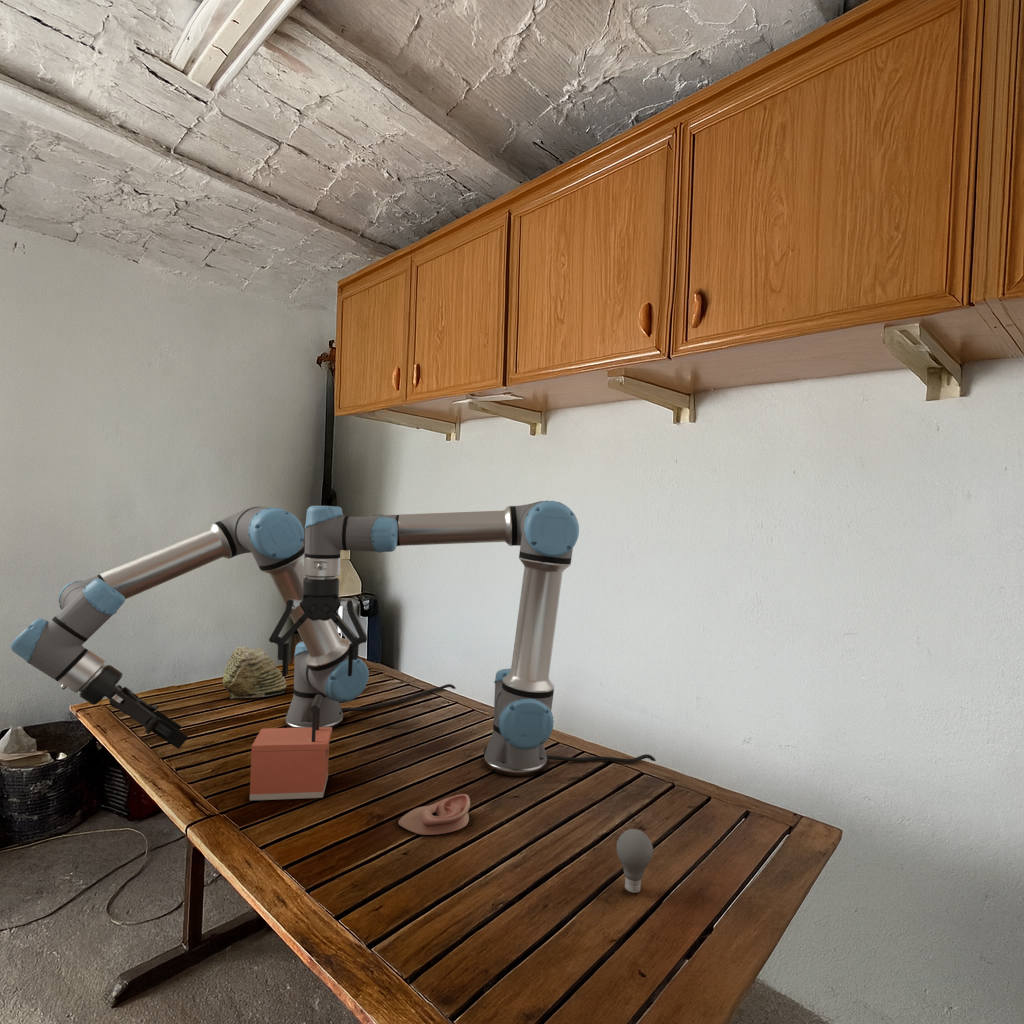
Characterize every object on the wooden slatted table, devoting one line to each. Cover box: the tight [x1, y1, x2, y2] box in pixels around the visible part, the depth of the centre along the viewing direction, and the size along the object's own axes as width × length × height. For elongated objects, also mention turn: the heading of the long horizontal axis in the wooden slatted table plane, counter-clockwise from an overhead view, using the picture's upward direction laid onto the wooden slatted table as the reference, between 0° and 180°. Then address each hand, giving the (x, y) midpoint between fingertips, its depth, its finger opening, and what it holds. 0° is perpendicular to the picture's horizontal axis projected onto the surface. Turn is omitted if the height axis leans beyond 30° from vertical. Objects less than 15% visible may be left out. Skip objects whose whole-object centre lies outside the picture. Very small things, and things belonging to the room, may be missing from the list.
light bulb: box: [615, 828, 654, 894], centre depth 106 cm, size 6×6×10 cm
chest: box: [249, 744, 330, 801], centre depth 137 cm, size 15×10×10 cm
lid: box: [251, 694, 333, 752], centre depth 137 cm, size 15×10×9 cm, turn 100°
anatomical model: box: [397, 793, 471, 836], centre depth 125 cm, size 13×4×12 cm
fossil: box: [222, 646, 288, 699], centre depth 198 cm, size 9×18×15 cm, turn 132°
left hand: (180, 737), depth 135 cm, fingers open, 13 cm apart
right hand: (317, 674), depth 137 cm, fingers open, 13 cm apart
